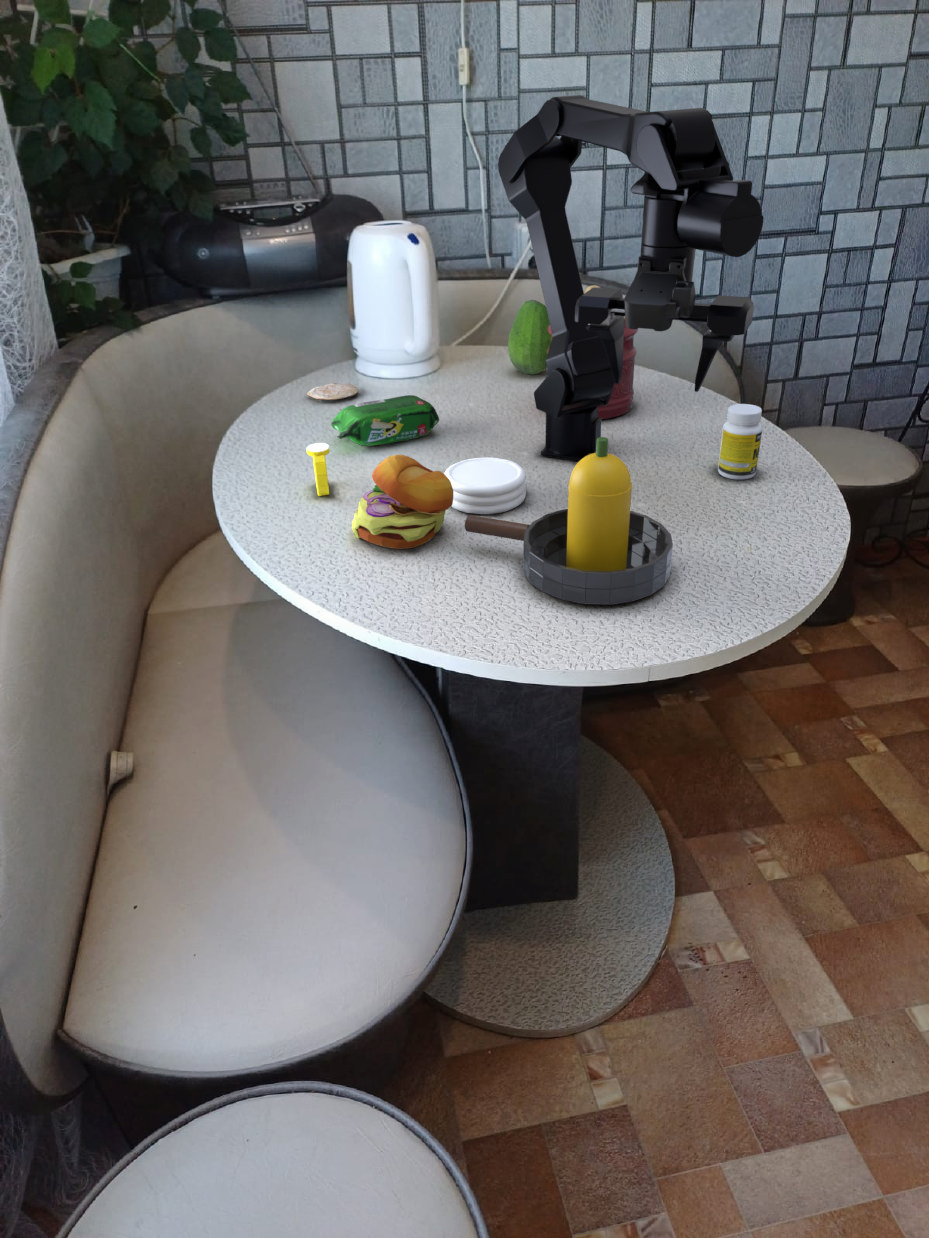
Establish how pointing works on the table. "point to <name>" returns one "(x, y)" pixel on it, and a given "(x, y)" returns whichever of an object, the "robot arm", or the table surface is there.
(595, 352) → the robot arm
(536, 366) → the avocado
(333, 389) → the flatbread
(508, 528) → the handle
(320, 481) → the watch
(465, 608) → the table surface
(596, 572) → the dark grey frying pan
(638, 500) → the table surface
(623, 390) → the kitchen canister
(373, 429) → the snack package
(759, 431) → the supplement bottle
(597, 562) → the pepper
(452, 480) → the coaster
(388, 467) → the cheeseburger
